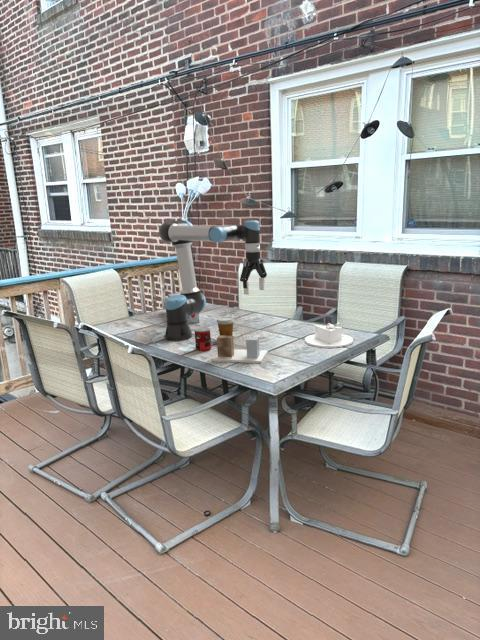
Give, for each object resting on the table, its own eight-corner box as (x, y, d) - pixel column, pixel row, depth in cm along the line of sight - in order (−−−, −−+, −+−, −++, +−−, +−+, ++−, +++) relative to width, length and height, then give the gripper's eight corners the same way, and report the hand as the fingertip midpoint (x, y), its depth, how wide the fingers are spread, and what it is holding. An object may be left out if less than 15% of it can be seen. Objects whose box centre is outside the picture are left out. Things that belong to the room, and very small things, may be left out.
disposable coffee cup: (237, 337, 256) (236, 316, 254) (231, 342, 248) (230, 321, 245) (221, 337, 260) (220, 316, 257) (215, 341, 251) (213, 320, 248)
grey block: (247, 358, 219) (246, 339, 217) (249, 354, 224) (248, 336, 221) (257, 358, 218) (256, 340, 215) (259, 355, 222) (258, 337, 220)
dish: (362, 340, 243) (362, 319, 240) (334, 351, 226) (334, 329, 224) (323, 332, 260) (323, 313, 258) (295, 343, 244) (295, 322, 241)
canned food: (195, 347, 242) (194, 327, 239) (211, 346, 243) (209, 326, 240) (195, 352, 235) (194, 331, 232) (211, 351, 235) (210, 330, 233)
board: (211, 360, 220) (211, 358, 220) (221, 350, 235) (221, 348, 235) (261, 363, 214) (260, 361, 214) (267, 352, 229) (267, 350, 229)
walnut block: (217, 357, 221) (216, 337, 219) (220, 355, 225) (219, 335, 222) (231, 358, 219) (230, 338, 217) (234, 355, 223) (233, 335, 221)
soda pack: (169, 312, 327) (167, 293, 324) (187, 310, 331) (185, 291, 327) (180, 325, 289) (178, 304, 286) (200, 323, 293) (198, 301, 290)
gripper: (243, 254, 225) (245, 296, 231) (272, 249, 244) (273, 288, 249) (231, 253, 230) (233, 295, 235) (261, 248, 249) (262, 287, 254)
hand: (254, 292), depth 242 cm, fingers open, 13 cm apart
